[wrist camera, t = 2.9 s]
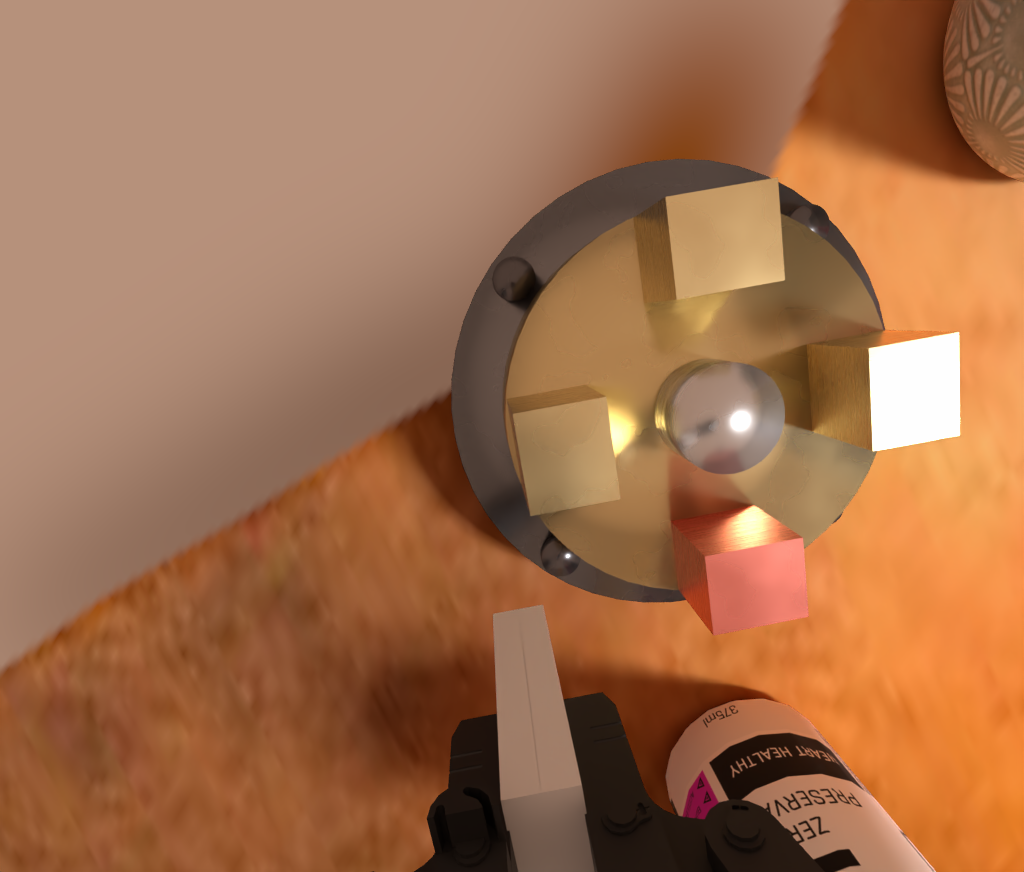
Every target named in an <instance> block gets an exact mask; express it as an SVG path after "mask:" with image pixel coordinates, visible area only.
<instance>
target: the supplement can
mask: <svg viewBox="0 0 1024 872" xmlns="http://www.w3.org/2000/svg"><path fill="white" fill-rule="evenodd" d="M665 777H666V782H667V788H668V794H669V800H670V802H671V805H672V807H673V809H674V812H675V814H676V815H678V816H683V817H689V818H698V819H705V817H706V815H707V813H708V811H709V810H710V809H711V808H712V807H714V806H715V805H716V804H718V803H719V802H723V801H727V800H731V799H736V800H746V801H750V802H752V803H755V804H757V805H759V806H762V807H763V808H765V809H766V810H767V811H768V812H769V813H771V814H772V815H773V816H774V817H775V818H776V819H777V820H778V821H779V822H780V823H781V824H782V825H783V826H784V828H785V829H786V830H787V831H788V832H789V833H790V834H791V835H792V836H793V837H794V839H795V840H796V841H797V842H798V843H799V844H800V845H801V846H802V847H803V848H804V850H805V851H806V852H807V853H808V854H809V855H810V856H811V857H812V858H813V859H814V861H815V862H816V863H817V864H818V865H819V866H820V867H821V868H822V869H823V870H824V872H936V871H935V870H934V869H933V867H932V866H931V865H930V864H929V863H928V861H927V860H926V859H925V858H924V857H923V855H922V854H921V853H920V852H919V851H918V850H917V848H916V847H915V846H914V845H913V844H912V842H911V841H910V840H909V839H908V838H907V836H906V835H905V834H904V833H903V832H902V830H901V829H900V828H899V827H898V826H897V824H896V823H895V822H894V821H893V820H892V819H891V817H890V816H889V815H888V814H887V813H886V811H885V810H884V809H883V808H882V807H881V805H880V804H879V803H878V802H877V801H876V799H875V798H874V797H873V796H872V795H871V793H870V792H869V791H868V790H867V789H866V788H865V786H864V785H863V784H862V783H861V782H860V780H859V779H858V778H857V777H856V776H855V774H854V773H853V772H852V771H851V770H850V768H849V767H848V766H847V765H846V764H845V762H844V761H843V760H842V759H841V758H840V757H839V755H838V754H837V753H836V752H835V751H834V749H833V748H832V747H831V746H830V745H829V743H828V742H827V741H826V740H825V739H824V737H823V736H822V735H821V734H820V733H819V731H818V730H817V729H816V728H815V727H814V726H813V724H812V723H811V722H810V721H809V720H808V719H807V718H805V717H804V716H803V715H801V714H800V713H799V712H797V711H796V710H795V709H793V708H792V707H791V706H789V705H786V704H782V703H778V702H775V701H771V700H767V699H750V700H735V701H730V702H728V703H725V704H723V705H720V706H718V707H715V708H713V709H710V710H708V711H706V712H705V713H704V714H703V715H701V716H700V717H699V718H698V719H696V720H695V721H694V722H693V723H691V724H690V725H689V726H688V728H687V729H686V730H685V731H684V733H683V734H682V736H681V737H680V739H679V740H678V742H677V743H676V745H675V746H674V748H673V749H672V751H671V754H670V758H669V763H668V767H667V772H666V776H665Z"/></svg>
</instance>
